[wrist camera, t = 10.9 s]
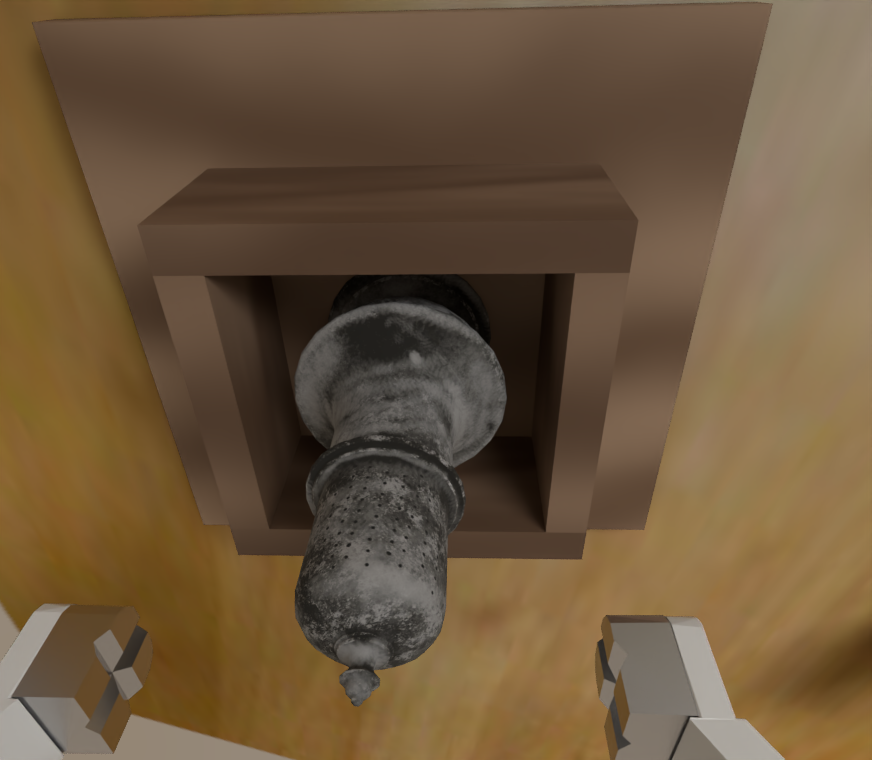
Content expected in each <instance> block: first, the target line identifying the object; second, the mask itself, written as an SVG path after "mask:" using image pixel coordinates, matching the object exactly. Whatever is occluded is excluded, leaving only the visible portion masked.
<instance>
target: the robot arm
mask: <svg viewBox="0 0 872 760" xmlns="http://www.w3.org/2000/svg"><path fill="white" fill-rule="evenodd" d="M139 618H140V616H139V615H138V613H137V611H136V610H135V608H134V606H111V605H77V604H43V605H42V606H41V607H39V608H38V609H37V610H36V611H34V612H33V614H32V615H31V617H30V618H29V620H28V621H27V623H26V624H25V626H24V627H23V629H22V630H21V632H20V633H19V635H18V636H17V638H16V639H15V641H14V643H13V644H12V646H11V647H10V649H9V650H8V652H7V653H6V655H5V656H4V658H3V659H2V661H1V662H0V760H61V759H62V758H63V757H64V755H63V753H81V754H85V753H86V754H87V753H88V754H93V753H94V754H95V753H96V754H100V753H101V754H109V753H110V754H111V753H112V754H113V753H114V751H115V749H116V747H117V744H118V742H119V740H120V738H121V736H122V733H123V731H124V729H125V726H126V724H127V722H128V720H129V717H130V715H131V709H130V704H129V700H128V699H130V698H131V697H132V696H133V695H134V694H135V693H136V692H137V691H139V690H140V689H141V688H142V687H143V685H144V683H145V680H146V678H147V676H148V673H149V671H150V667H151V661H152V655H153V647H152V640H151V638H150V636H149V634H148V632H147V631H145V630H144V629H142V628H140V627H139V626H137V625H136V624H137V622H138V620H139ZM601 630H602V636H603V639H601V640H600V641H599V642H597V647H596V653H595V673H596V682H597V688H598V694H599V699H600V700H601V702H602V703H603V704H604V705H605V706H606V707H607V709H608V714H607V718H606V721H605V725H604V728H605V734H606V739H607V744H608V750H609V755H610V760H785V759H784V758H783V757H782V756H781V755H780V754H779V753H778V752H777V751H776V750H775V749H774V748H773V747H772V746H771V745H770V744H769V743H768V742H767V740H766V739H765V738H764V737H763V736H762V735H761V734H760V733H759V732H758V731H757V730H756V729H755V728H754V727H753V726H752V725H751V724H750V723H749V722H748V721H747V720H746V719H739V718H736V717H735V715H734V712H733V709H732V706H731V703H730V701H729V698H728V695H727V692H726V689H725V687H724V684H723V681H722V678H721V675H720V673H719V670H718V667H717V664H716V661H715V659H714V656H713V653H712V650H711V648H710V645H709V642H708V639H707V636H706V634H705V631H704V628H703V625H702V623H701V622H700V621H699V620H698V618H696V617H694V616H663V615H606V616H605V617H604V618H603V620H602V624H601Z"/></svg>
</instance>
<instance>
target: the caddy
mask: <svg viewBox="0 0 872 760" xmlns="http://www.w3.org/2000/svg"><path fill="white" fill-rule="evenodd" d="M772 5H773V4H769V3H761V2H730V3H690V4H650V5H610V6H570V7H530V8H490V9H450V10H410V11H370V12H330V13H290V14H250V15H210V16H171V17H131V18H91V19H53V20H46V21H39V22H32V24H33V27H34V30H35V33H36V36H37V39H38V42H39V45H40V48H41V50H42V53H43V56H44V59H45V62H46V65H47V68H48V71H49V74H50V77H51V80H52V83H53V86H54V88H55V91H56V94H57V97H58V100H59V103H60V106H61V109H62V112H63V115H64V118H65V121H66V124H67V126H68V129H69V132H70V135H71V138H72V141H73V144H74V147H75V150H76V153H77V156H78V159H79V162H80V164H81V167H82V170H83V173H84V176H85V179H86V182H87V185H88V188H89V191H90V194H91V197H92V200H93V202H94V205H95V208H96V211H97V214H98V217H99V220H100V223H101V226H102V229H103V232H104V235H105V238H106V240H107V243H108V246H109V249H110V252H111V255H112V258H113V261H114V264H115V267H116V270H117V273H118V276H119V278H120V281H121V284H122V287H123V290H124V293H125V296H126V299H127V302H128V305H129V308H130V311H131V314H132V316H133V319H134V322H135V325H136V328H137V331H138V334H139V337H140V340H141V343H142V346H143V349H144V352H145V354H146V357H147V360H148V363H149V366H150V369H151V372H152V375H153V378H154V381H155V384H156V387H157V390H158V392H159V395H160V398H161V401H162V404H163V407H164V410H165V413H166V416H167V419H168V422H169V425H170V428H171V430H172V433H173V436H174V439H175V442H176V445H177V448H178V451H179V454H180V457H181V460H182V463H183V466H184V468H185V471H186V474H187V477H188V480H189V483H190V486H191V489H192V492H193V495H194V498H195V501H196V504H197V506H198V509H199V512H200V515H201V518H202V521H203V524H204V525H230V529H231V532H232V535H233V538H234V542H235V545H236V548H237V551H238V555H289V556H305V552H306V548H307V544H308V541H309V537H310V533H311V530H312V526H313V522H314V518H315V516H314V515H313V513H312V511H311V509H310V506H309V504H308V501H307V499H306V481H307V478H308V475H309V472H310V470H311V467H312V465H313V464H314V463H315V462H316V460H317V459H318V458H319V457H320V455H321V454H322V453H324V452H325V451H327V450H328V449H326V448H325V447H324V446H323V445H322V444H321V443H319V442H318V441H317V440H316V439H315V437H314V436H313V434H312V433H311V432H310V430H309V429H308V427H307V426H306V425H305V423H304V422H303V420H302V417H301V414H300V412H299V409H298V406H297V403H296V400H295V382H294V376H295V372H296V369H297V366H298V362H299V359H300V356H301V353H302V351H303V350H304V348H305V347H306V346H307V344H308V343H309V341H310V340H311V339H312V337H313V336H314V334H315V333H316V332H317V331H318V330H319V329H321V328H322V327H323V326H325V325H326V324H327V323H328V317H329V314H330V311H331V308H332V305H333V301H334V299H335V297H336V296H337V294H338V293H339V292H340V290H341V289H342V287H343V286H344V284H345V283H346V282H347V281H348V280H350V279H351V278H352V277H354V276H355V275H393V274H457V275H459V276H460V277H461V278H463V279H464V280H466V281H467V282H468V283H469V284H470V285H471V287H472V288H473V289H474V290H475V291H476V293H477V294H478V295H479V296H480V297H481V300H482V302H483V304H484V306H485V309H486V311H487V313H488V315H489V322H490V330H491V340H490V345H489V346H490V348H491V349H492V350H493V351H494V353H495V355H496V357H497V360H498V362H499V364H500V366H501V368H502V371H503V373H504V378H505V387H506V396H507V401H506V405H505V410H504V415H503V419H502V422H501V424H500V426H499V427H498V429H497V431H496V433H495V434H494V436H493V438H492V440H491V441H490V442H489V443H488V444H487V445H486V446H485V447H484V448H483V449H482V450H480V451H479V452H478V453H477V454H476V455H475V456H474V457H472V458H471V459H469V460H467V461H465V462H464V463H462V464H460V465H458V466H457V467H455V470H456V472H457V474H458V475H459V477H460V479H461V481H462V482H463V486H464V491H465V496H466V503H465V508H464V514H463V517H462V519H461V520H460V522H459V524H458V525H457V527H456V529H455V530H453V531H452V532H451V533H450V534H449V535H448V547H447V558H512V559H582V555H583V549H584V543H585V537H586V531H587V529H626V530H644V528H645V524H646V520H647V516H648V512H649V508H650V504H651V500H652V495H653V491H654V487H655V483H656V479H657V475H658V471H659V467H660V463H661V459H662V455H663V450H664V446H665V442H666V438H667V434H668V430H669V426H670V422H671V418H672V414H673V410H674V405H675V401H676V397H677V393H678V389H679V385H680V381H681V377H682V373H683V369H684V365H685V360H686V356H687V352H688V348H689V344H690V340H691V336H692V332H693V328H694V324H695V320H696V316H697V311H698V307H699V303H700V299H701V295H702V291H703V287H704V283H705V279H706V275H707V271H708V266H709V262H710V258H711V254H712V250H713V246H714V242H715V238H716V234H717V230H718V226H719V221H720V217H721V213H722V209H723V205H724V201H725V197H726V193H727V189H728V185H729V181H730V176H731V172H732V168H733V164H734V160H735V156H736V152H737V148H738V144H739V140H740V136H741V132H742V127H743V123H744V119H745V115H746V111H747V107H748V103H749V99H750V95H751V91H752V87H753V82H754V78H755V74H756V70H757V66H758V62H759V58H760V54H761V50H762V46H763V42H764V37H765V33H766V29H767V25H768V21H769V17H770V13H771V9H772Z"/></svg>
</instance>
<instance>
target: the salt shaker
mask: <svg viewBox="0 0 872 760" xmlns="http://www.w3.org/2000/svg"><path fill="white" fill-rule="evenodd" d="M490 340H491V330H490V322H489V315H488V313H487V311H486V309H485V306H484V304H483V302H482V300H481V297H480V296H479V295H478V294H477V293H476V291H475V290H474V289H473V288H472V287H471V285H470V284H469V283H468V282H467V281H466V280H464V279H463V278H461V277H460V276H459V275H457V274H393V275H355V276H354V277H352V278H351V279H350V280H348V281H347V282H346V283H345V284H344V286H343V287H342V289H341V290H340V292H339V293H338V294H337V296H336V297H335V299H334V301H333V305H332V308H331V311H330V314H329V317H328V323H327V324H326V325H325V326H323V327H322V328H321V329H319V330H318V331H317V332H316V333H315V334H314V336H313V337H312V339H311V340H310V341H309V343H308V344H307V346H306V347H305V348H304V350H303V351H302V353H301V356H300V359H299V362H298V366H297V369H296V372H295V376H294V382H295V400H296V403H297V406H298V409H299V412H300V414H301V417H302V420H303V422H304V423H305V425H306V426H307V427H308V429H309V430H310V432H311V433H312V434H313V436H314V437H315V439H316V440H317V441H318V442H319V443H321V444H322V445H323V446H324V447H325V448H326V449H328V450H327V451H325V452H324V453H322V454H321V455H320V457H319V458H318V459H317V460H316V462H315V463H314V464H313V465H312V467H311V470H310V472H309V475H308V478H307V481H306V499H307V501H308V504H309V506H310V509H311V511H312V513H313V515H314V516H315V518H314V522H313V526H312V530H311V533H310V537H309V541H308V544H307V548H306V552H305V556H304V559H303V563H302V567H301V571H300V574H299V578H298V582H297V586H296V589H295V616H296V619H297V621H298V623H299V625H300V627H301V629H302V631H303V633H304V635H305V637H306V638H307V640H308V641H309V642H310V643H311V644H312V645H313V646H314V647H315V649H317V650H318V651H320V652H321V653H323V654H324V655H326V656H327V657H329V658H331V659H333V660H334V661H336V662H339V663H341V664H344V665H346V666H348V667H349V669H348V670H346V671H345V672H343V673H342V674H341V675H340V684H341V685H342V686H343V687H344V688H345V692H346V695H347V696H348V697H349V698H350V699H351V703H352V704H353V705H354V706H360V705H361V704H362V702H363V701H364V700H366V699H367V698H368V697H370V695H371V692H372V691H374V690H375V689H377V688H378V687H379V685H380V679H379V678H378V676H377V675H376V674H375V673H374V670H382V669H388V668H392V667H396V666H400V665H403V664H405V663H408V662H410V661H412V660H415V659H416V658H418V657H419V656H420V655H421V654H423V653H424V652H425V651H426V650H427V649H428V648H429V647H430V646H431V645H432V644H433V643H434V641H435V640H436V638H437V637H438V635H439V633H440V631H441V628H442V624H443V621H444V616H445V610H446V586H447V547H448V535H449V534H450V533H451V532H452V531H453V530H455V529H456V527H457V525H458V524H459V522H460V520H461V519H462V517H463V514H464V508H465V503H466V496H465V491H464V486H463V482H462V481H461V479H460V477H459V475H458V474H457V472H456V470H455V467H457V466H458V465H460V464H462V463H464V462H465V461H467V460H469V459H471V458H472V457H474V456H475V455H476V454H477V453H478V452H479V451H480V450H482V449H483V448H484V447H485V446H486V445H487V444H488V443H489V442H490V441H491V440H492V438H493V436H494V434H495V433H496V431H497V429H498V427H499V426H500V424H501V422H502V419H503V415H504V410H505V405H506V401H507V396H506V387H505V378H504V373H503V371H502V368H501V366H500V364H499V362H498V360H497V357H496V355H495V353H494V351H493V350H492V349H491V348H490V346H489V345H490Z"/></svg>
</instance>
